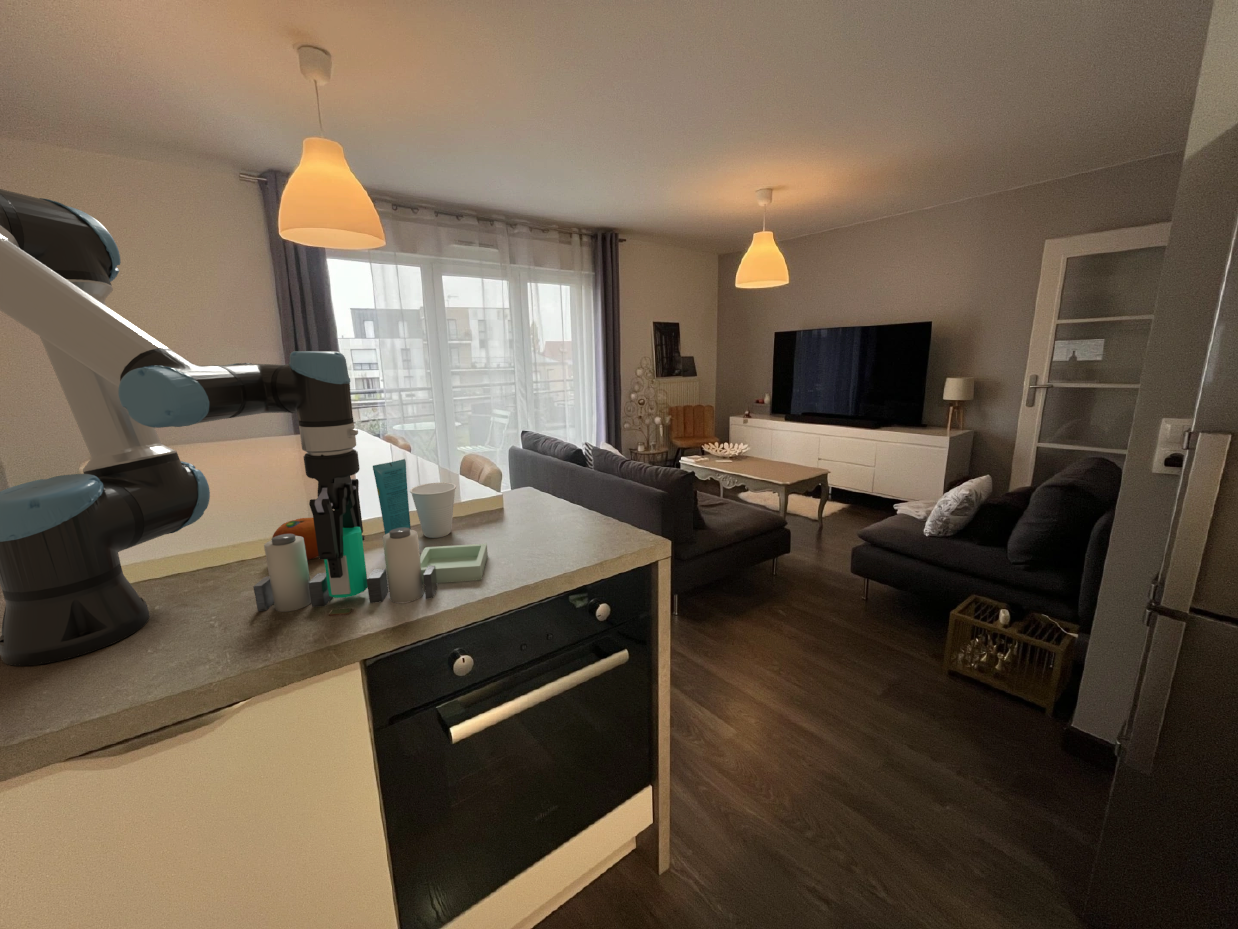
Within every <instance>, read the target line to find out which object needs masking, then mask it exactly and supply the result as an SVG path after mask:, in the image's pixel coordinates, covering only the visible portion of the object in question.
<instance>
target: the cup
mask: <svg viewBox="0 0 1238 929" xmlns="http://www.w3.org/2000/svg"><path fill="white" fill-rule="evenodd" d="M456 489H457V485H456V484H455V483H452V482H451V483H450V482H429V483H423V484H420V485H415V486H414V487H412V488H410V489H409V493H411V497H412V500H413V503H414V507H415V510H416V513H417V517H418V521H419V524H420V528H421V531H422V534H423V536H425V537H426V538H428V539H429V538H430V539H437V538H443V537H446V536H448V535H450V533H451V532H452V529H453V517H454V507H455V506H454V504H455V496H456V495H455V492H456Z"/></svg>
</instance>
